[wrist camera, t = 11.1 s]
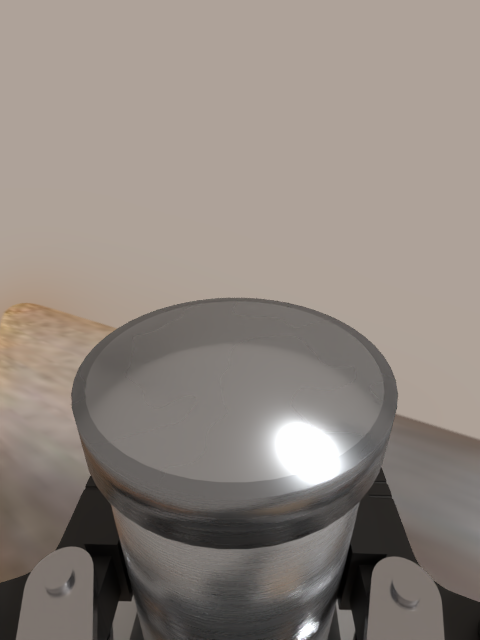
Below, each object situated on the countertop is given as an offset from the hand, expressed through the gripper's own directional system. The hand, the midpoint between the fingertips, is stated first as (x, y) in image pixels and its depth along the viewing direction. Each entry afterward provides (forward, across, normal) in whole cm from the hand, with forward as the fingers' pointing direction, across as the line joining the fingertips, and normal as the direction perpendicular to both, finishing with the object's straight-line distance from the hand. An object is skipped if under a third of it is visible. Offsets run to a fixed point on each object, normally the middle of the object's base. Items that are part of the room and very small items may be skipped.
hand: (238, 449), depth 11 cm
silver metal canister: (-3, 0, +7) cm, 7 cm away
